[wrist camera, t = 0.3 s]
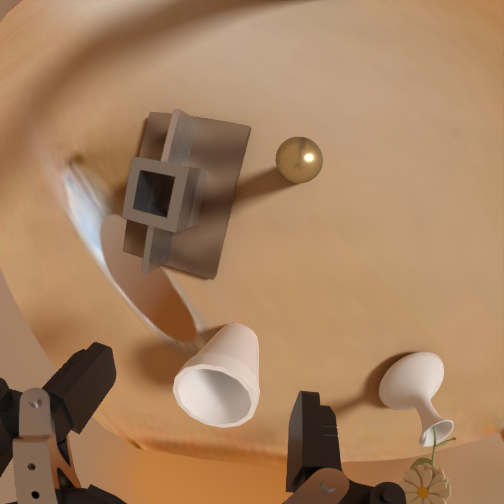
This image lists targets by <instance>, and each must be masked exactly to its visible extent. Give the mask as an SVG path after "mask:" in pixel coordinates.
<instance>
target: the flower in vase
mask: <svg viewBox="0 0 504 504" xmlns="http://www.w3.org/2000/svg"><path fill="white" fill-rule="evenodd" d="M443 376H444V369H443V363H442V361H441V359H440V358H439V357H438V356H437V355H435V354H433V353H430V352H417V353H413V354H410V355H407V356H405V357H403V358H401V359H400V360H398V361H397V362H396V363H394V364H393V365H392V366H391V367H390V368H389V369H388V371H387V372H386V373H385V375H384V377H383V378H382V380H381V383H380V386H379V397H380V399H381V401H382V402H383V403H384V404H385V405H386V406H387V407H389V408H391V409H394V410H411V409H414V408H416V409H417V411H418V413H419V415H420V418H421V422H422V428H423V429H422V434H421V436H420V439H419V443H420V445H421V446H424V447H429V446H433V445H434V446H433V455H432V460H430V459H428V458H419V459H417V460H416V461H415V462H414V463H413V464H412V466H411V468H410V469H409V470H408V472H404V473H403V480H404V481H405V482H403V481H401V482H399V483H398V485H399V486H400V487H401V488H402V489H403V490H404V492H405V496H406V503H407V504H446V502H445V500H444V499H449V498H450V495H451V491H450V490H451V486H450V485H449V484H447V483H448V478H447V477H445V475H444V474H443V473H444V471H443V469H441V468H439V469H437V468H436V467H435V466H434V458H435V450H436V447H438V446H441V445H444V444H446V443H447V442H449V441H450V440H456V438H455V437H453V438H451V439H450V440H447V441H445V442H442V443H440V442H441V441H443V440H444V439H445V438H447V437H448V436H449V434H450V433H451V432H452V430H453V428H454V423H453V422H452V421H450V420H446V419H443V418H442V417H440V416H439V415H438V413H437V412H436V411H435V409H434V407H433V406H432V403H431V401H430V399H431V398H432V397H433V396H434V394H435V393H436V392H437V390H438V389H439V387H440V385H441V383H442V380H443ZM438 443H440V444H438ZM436 444H438V445H437V446H436ZM431 461H432V466H431V467H430V465H431Z"/></svg>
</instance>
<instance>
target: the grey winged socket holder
mask: <svg viewBox="0 0 504 504" xmlns="http://www.w3.org/2000/svg"><path fill="white" fill-rule="evenodd" d="M197 124H198V121H197V120H196V119H194V118H193V117H191V116H190V115H188V114H186V113H185V112H183V111H182V110H179V109H174V111H173V114H172V118H171V122H170V125H169V129H168V133H167V137H166V141H165V145H164V149H163V153H162V158H161V161H158V160H152V159H146V158H140V157H134V156H133V159H132V163H131V168H130V173H129V178H128V184H127V189H126V195H125V200H124V207H123V213H122V218H124V219H128V220H131V221H135V222H138V223H142V224H146V225H148V229H147V236H146V242H145V249H144V257H143V265H142V273H144V274H149V273H151V272H152V271H154V270H156V269H158V268H159V267H161V266H163V265H164V264H166V263H168V259H169V253H170V247H171V242H172V236H173V232H174V233H177V232H180V231H182V230H185V229H188V228H190V227H193V226H196V225H198V220H199V215H200V211H201V206H202V201H203V197H204V193H205V188H206V184H207V180H208V175H209V170H204V169H199V168H194V167H190V166H187V164H188V159H189V155H190V151H191V147H192V143H193V139H194V135H195V131H196V128H197ZM166 175H170V176H174V177H175V181H174V186H173V190H172V195H171V200H170V205H169V207H166V206H162V205H160V203H161V198H162V193H163V188H164V183H165V179H166Z"/></svg>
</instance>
